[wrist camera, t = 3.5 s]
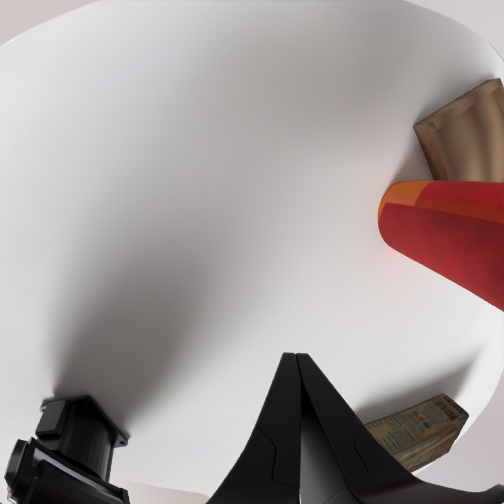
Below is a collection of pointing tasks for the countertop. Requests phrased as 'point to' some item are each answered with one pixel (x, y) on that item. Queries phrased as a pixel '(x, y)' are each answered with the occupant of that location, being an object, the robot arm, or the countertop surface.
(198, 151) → the countertop surface
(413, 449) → the beverage carton
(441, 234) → the paper cup
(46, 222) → the countertop surface
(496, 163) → the tray
